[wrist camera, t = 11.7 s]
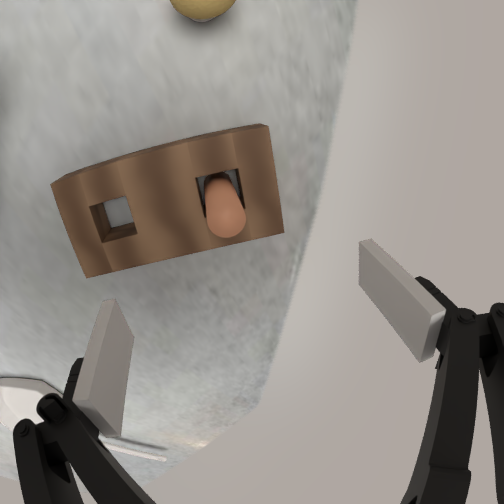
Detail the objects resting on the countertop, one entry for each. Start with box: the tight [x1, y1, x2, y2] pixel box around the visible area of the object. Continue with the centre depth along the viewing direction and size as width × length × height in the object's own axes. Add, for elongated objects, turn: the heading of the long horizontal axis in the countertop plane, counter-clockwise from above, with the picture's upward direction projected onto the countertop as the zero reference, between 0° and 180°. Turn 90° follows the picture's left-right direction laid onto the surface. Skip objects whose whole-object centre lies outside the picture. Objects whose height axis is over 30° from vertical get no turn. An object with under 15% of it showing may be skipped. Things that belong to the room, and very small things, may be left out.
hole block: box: [50, 124, 284, 278], centre depth 34 cm, size 24×12×4 cm, turn 100°
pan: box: [0, 378, 167, 462], centre depth 51 cm, size 28×41×4 cm
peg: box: [204, 171, 246, 238], centre depth 31 cm, size 3×3×12 cm
